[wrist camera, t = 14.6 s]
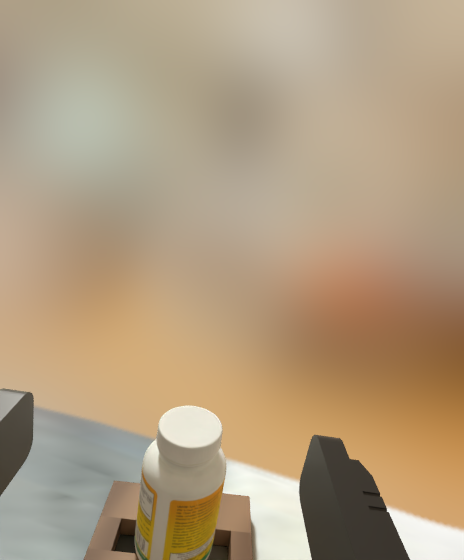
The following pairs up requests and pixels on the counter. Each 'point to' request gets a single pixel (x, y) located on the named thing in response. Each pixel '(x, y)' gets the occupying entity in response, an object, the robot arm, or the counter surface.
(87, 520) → the counter surface
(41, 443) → the counter surface
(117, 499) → the walnut trivet
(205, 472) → the supplement bottle
